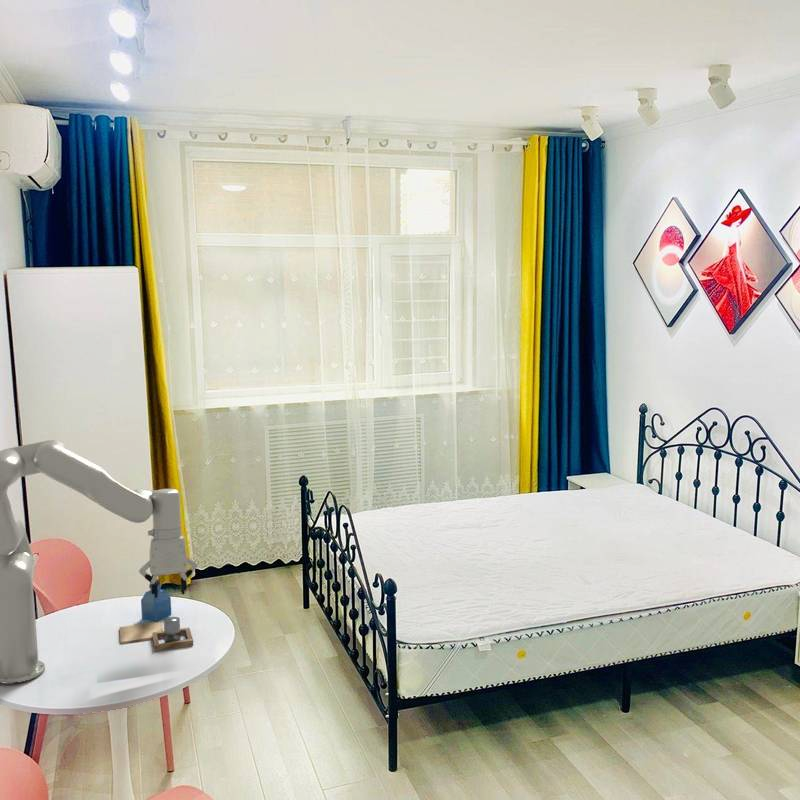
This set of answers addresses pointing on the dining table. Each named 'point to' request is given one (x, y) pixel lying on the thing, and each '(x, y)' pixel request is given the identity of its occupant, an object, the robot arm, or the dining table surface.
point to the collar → (176, 643)
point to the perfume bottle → (156, 604)
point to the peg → (172, 629)
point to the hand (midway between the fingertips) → (169, 594)
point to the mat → (139, 632)
